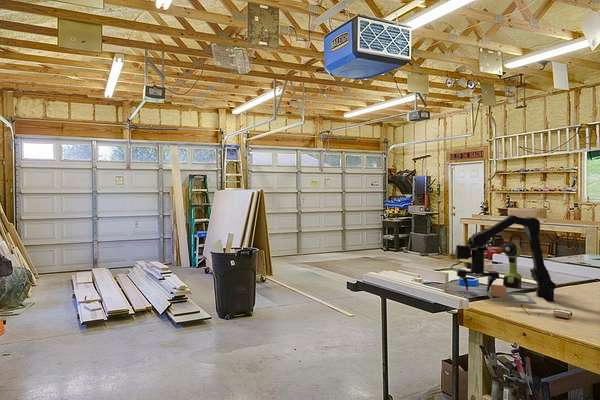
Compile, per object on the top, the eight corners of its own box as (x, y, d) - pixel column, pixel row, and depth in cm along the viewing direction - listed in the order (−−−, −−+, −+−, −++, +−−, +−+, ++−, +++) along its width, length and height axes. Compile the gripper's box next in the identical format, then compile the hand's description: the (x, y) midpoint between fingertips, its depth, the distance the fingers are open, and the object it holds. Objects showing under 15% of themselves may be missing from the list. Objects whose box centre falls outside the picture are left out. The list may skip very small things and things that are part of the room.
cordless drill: (513, 295, 215) (514, 245, 215) (498, 293, 220) (499, 243, 219) (522, 287, 234) (523, 240, 233) (507, 285, 238) (508, 239, 237)
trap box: (526, 298, 210) (526, 293, 210) (535, 307, 195) (535, 302, 194) (486, 295, 215) (486, 291, 215) (491, 303, 199) (492, 299, 199)
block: (503, 294, 211) (503, 285, 211) (505, 296, 206) (506, 287, 206) (490, 293, 213) (490, 284, 213) (492, 295, 208) (492, 286, 208)
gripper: (495, 257, 217) (494, 289, 217) (455, 256, 222) (455, 286, 222) (499, 261, 206) (499, 294, 207) (458, 259, 211) (457, 291, 211)
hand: (477, 291), depth 212 cm, fingers open, 9 cm apart
